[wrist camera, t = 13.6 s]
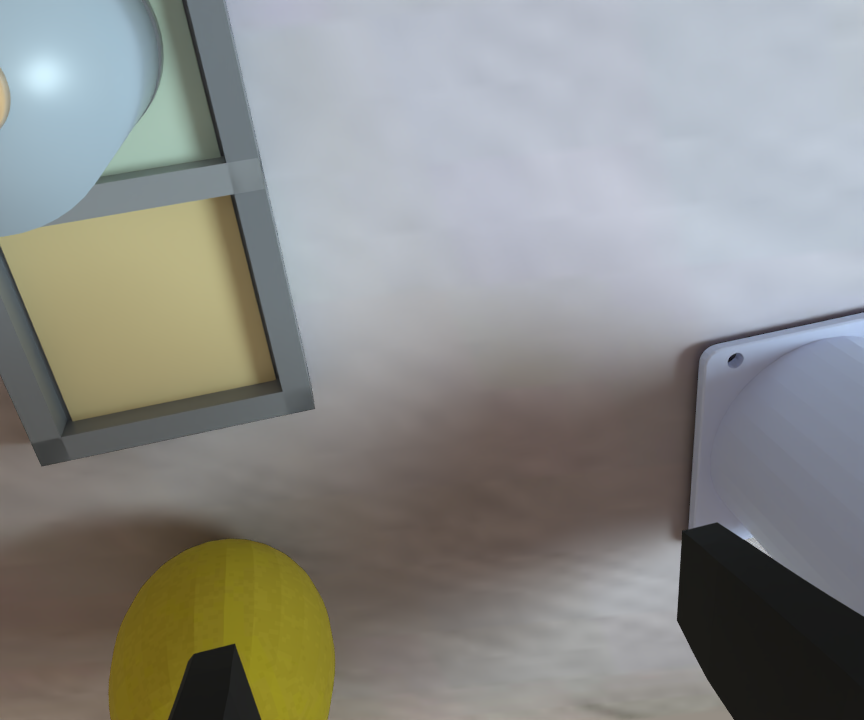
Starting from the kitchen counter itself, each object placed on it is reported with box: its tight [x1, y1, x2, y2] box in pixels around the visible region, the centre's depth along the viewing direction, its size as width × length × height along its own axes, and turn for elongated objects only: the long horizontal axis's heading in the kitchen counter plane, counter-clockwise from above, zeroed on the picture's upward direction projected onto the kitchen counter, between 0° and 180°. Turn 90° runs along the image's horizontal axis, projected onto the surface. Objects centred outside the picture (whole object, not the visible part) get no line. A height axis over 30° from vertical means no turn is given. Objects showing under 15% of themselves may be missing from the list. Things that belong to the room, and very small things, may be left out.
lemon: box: [109, 539, 335, 720], centre depth 19 cm, size 6×6×8 cm
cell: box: [0, 0, 164, 237], centre depth 12 cm, size 4×4×7 cm
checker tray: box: [0, 0, 315, 466], centre depth 17 cm, size 7×12×1 cm, turn 7°
